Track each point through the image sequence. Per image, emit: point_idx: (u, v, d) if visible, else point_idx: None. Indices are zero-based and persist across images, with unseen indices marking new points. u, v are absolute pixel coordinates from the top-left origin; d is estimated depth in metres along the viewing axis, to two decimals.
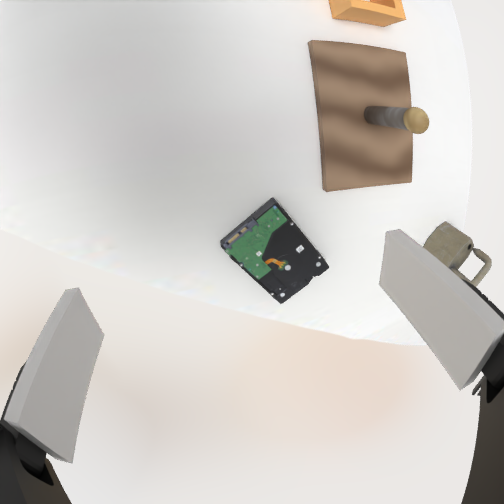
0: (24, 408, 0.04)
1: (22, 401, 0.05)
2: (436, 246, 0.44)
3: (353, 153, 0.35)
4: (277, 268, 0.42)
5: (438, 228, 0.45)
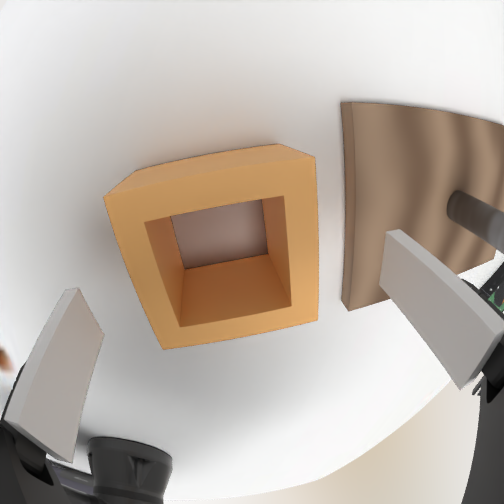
0: (24, 408, 0.04)
1: (22, 401, 0.05)
2: None
3: None
4: None
5: None
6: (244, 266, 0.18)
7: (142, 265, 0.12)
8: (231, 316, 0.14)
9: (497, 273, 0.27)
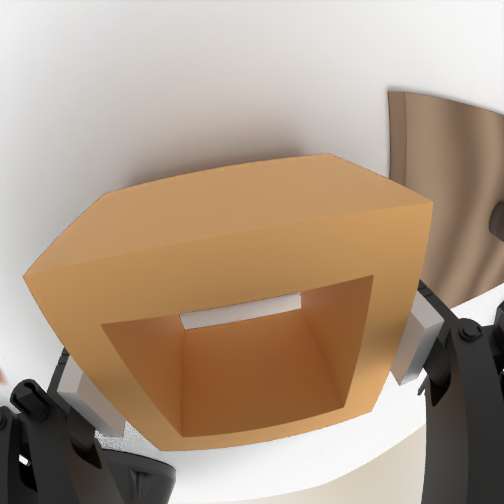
0: (81, 377, 0.06)
1: (79, 370, 0.06)
2: None
3: None
4: None
5: None
6: (269, 331, 0.13)
7: (113, 379, 0.06)
8: (258, 424, 0.08)
9: None
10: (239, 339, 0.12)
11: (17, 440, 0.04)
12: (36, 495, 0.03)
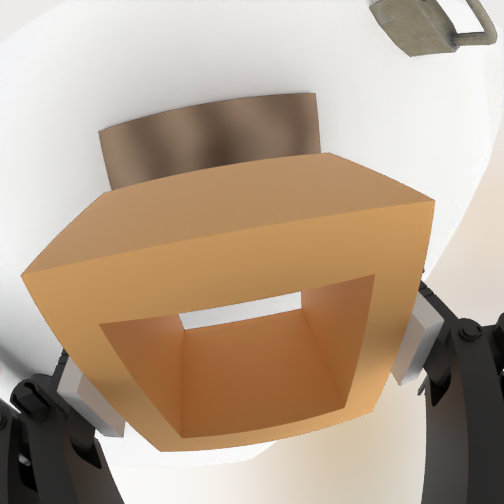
0: (81, 377, 0.06)
1: (79, 370, 0.06)
2: (411, 42, 0.20)
3: None
4: None
5: (381, 24, 0.20)
6: (269, 331, 0.12)
7: (112, 380, 0.06)
8: (258, 425, 0.08)
9: None
10: (239, 339, 0.12)
11: (17, 440, 0.04)
12: (36, 495, 0.03)
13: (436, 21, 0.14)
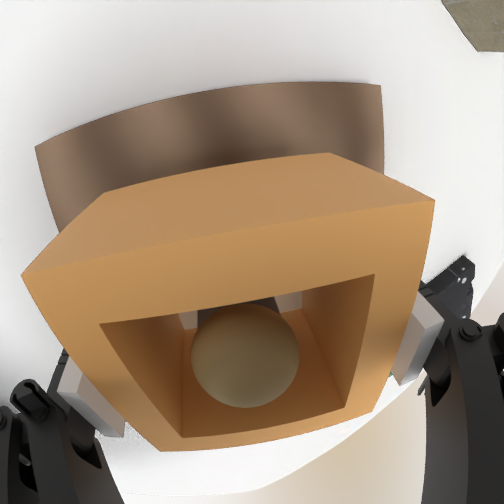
0: (82, 377, 0.06)
1: (79, 370, 0.06)
2: (487, 34, 0.09)
3: None
4: None
5: (447, 5, 0.10)
6: None
7: (112, 379, 0.06)
8: (258, 424, 0.08)
9: None
10: None
11: (17, 440, 0.04)
12: (36, 495, 0.03)
13: None
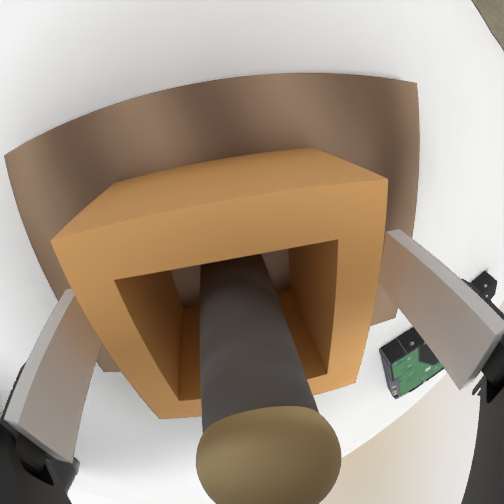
0: (24, 408, 0.04)
1: (22, 401, 0.05)
2: None
3: None
4: None
5: (475, 0, 0.07)
6: None
7: (120, 336, 0.07)
8: None
9: None
10: None
11: None
12: None
13: None
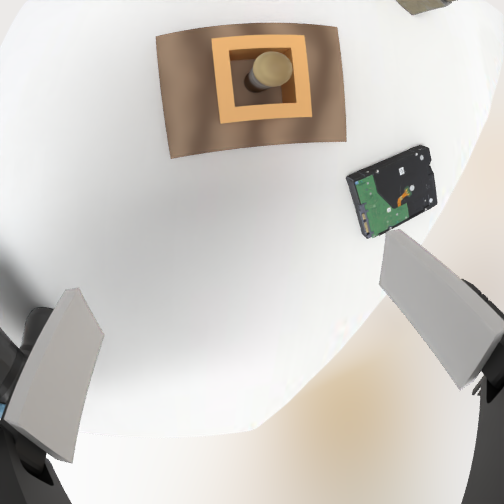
0: (24, 408, 0.04)
1: (22, 401, 0.05)
2: (412, 1, 0.20)
3: None
4: (408, 197, 0.36)
5: None
6: None
7: (223, 69, 0.21)
8: (264, 104, 0.23)
9: (380, 163, 0.35)
10: None
11: None
12: None
13: None
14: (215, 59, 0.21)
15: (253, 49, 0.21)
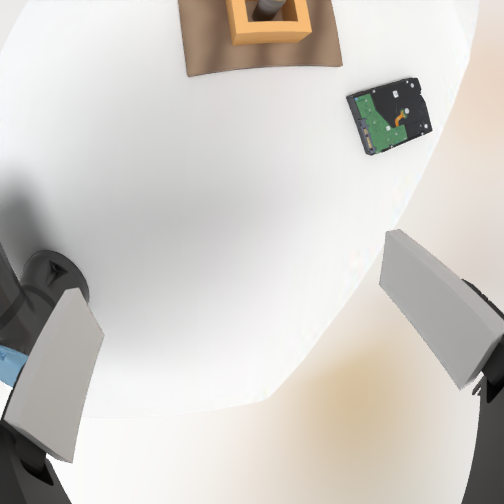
0: (24, 408, 0.04)
1: (22, 401, 0.05)
2: None
3: None
4: (405, 119, 0.35)
5: None
6: None
7: None
8: (271, 21, 0.23)
9: None
10: None
11: None
12: None
13: None
14: None
15: None
